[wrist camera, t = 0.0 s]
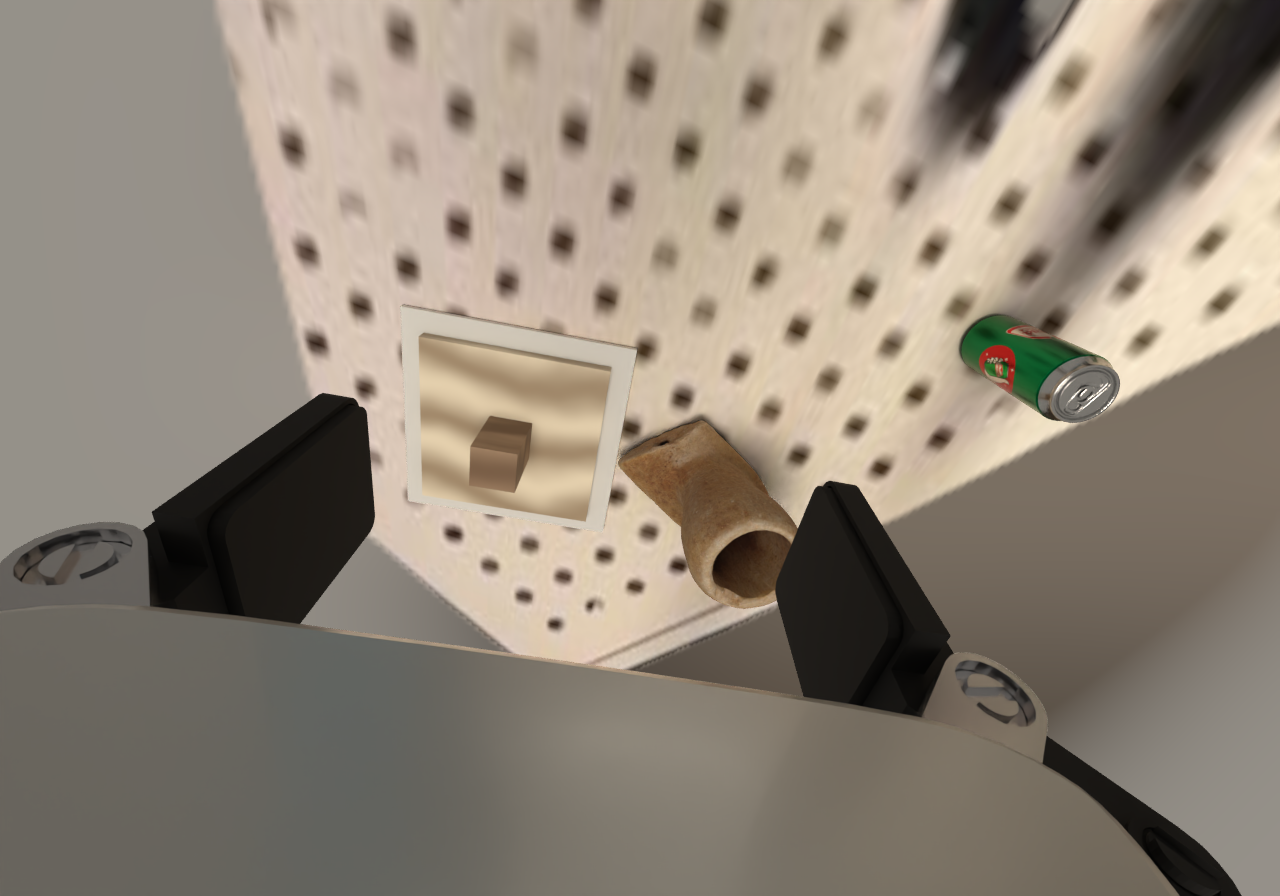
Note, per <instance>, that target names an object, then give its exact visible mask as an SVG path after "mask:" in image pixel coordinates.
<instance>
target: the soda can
mask: <svg viewBox="0 0 1280 896" xmlns="http://www.w3.org/2000/svg"><path fill="white" fill-rule="evenodd" d="M961 354H962V358H963V360H964V362H965V364H966V365H967V366H968V367H970V368H971V369H973V370H974V371H976V372H977V373H979V374H981V375H982V376H984V377H985V378H987V379H988V380H990V381H991V382H993V383H994V384H996V385H997V386H999V387H1000V388H1002V389H1003V390H1005V391H1006V392H1008V393H1009V394H1011V395H1012V396H1014V397H1015V398H1017V399H1018V400H1020V401H1021V402H1023V403H1025V404H1026V405H1028V406H1029V407H1031V408H1032V409H1034V410H1035V411H1037V412H1038V413H1040V414H1041V415H1043V416H1044V417H1046V418H1048V419H1051V420H1055V421H1064V422H1069V423H1077V422H1083V421H1086V420H1089V419H1091V418H1094V417H1096V416H1097V415H1099V414H1101V413H1102V412H1103V411H1105V410H1106V409H1107V408H1108V407H1109V406H1110V405H1111V404H1112V402H1113V401H1114V399H1115V398H1116V396H1117V394H1118V391H1119V387H1120V380H1119V376H1118V374H1117V373H1116V372H1115V371H1114V370H1113V367H1112V366H1111V364H1110V363H1109V362H1108V360H1106V359H1105V358H1103V357H1101V356H1099V355H1097V354H1094V353H1092V352H1090V351H1087V350H1085V349H1083V348H1081V347H1078V346H1076V345H1074V344H1072V343H1069V342H1067V341H1065V340H1063V339H1060V338H1058V337H1056V336H1053V335H1051V334H1049V333H1047V332H1044V331H1042V330H1040V329H1038V328H1035V327H1033V326H1031V325H1028V324H1026V323H1024V322H1022V321H1019V320H1017V319H1015V318H1013V317H1010V316H1006V315H996V316H992V317H988V318H986V319H984V320H982V321H980V322H979V323H978V324H976V325H975V326H974V327H973V328H972V329H971V330H970V331H969V332H968V334H967V335H966V337H965V339H964V341H963V344H962V349H961Z"/></svg>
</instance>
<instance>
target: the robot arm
mask: <svg viewBox="0 0 1280 896" xmlns="http://www.w3.org/2000/svg"><path fill="white" fill-rule="evenodd" d="M152 514H153V517H154V520H155V522H153V523H152V524H151V525H149V526H148V527H147V528H145V529H144V530H140V529H138V528H137V527H135V526H133V525H128V524H124V523H120V522H98V523H91V524H82V525H77V526H73V527H69V528H65V529H61V530H57V531H54V532H52V533H49V534H46V535H44V536H41V537H38V538H36V539H34V540H32V541H30V542H28V543H27V544H24V545H23V546H21V547H19V548H17V549H15V550H14V551H13V552H12V553H11V554H9V555H8V556H7V557H6V558H5V559H3V560H2V561H1V563H0V896H1241V894H1240V893H1239V891H1238V889H1237V887H1236V885H1235V884H1234V882H1233V881H1232V879H1231V878H1230V877H1229V876H1228V874H1227V873H1226V872H1225V871H1224V870H1223V868H1222V867H1221V866H1220V864H1219V863H1218V862H1217V861H1216V860H1215V859H1214V858H1213V857H1212V856H1211V855H1210V853H1208V851H1207V850H1206V849H1205V848H1203V846H1201V845H1200V844H1199V843H1198V842H1197V841H1195V840H1194V839H1193V838H1191V837H1190V836H1189V835H1188V834H1186V833H1185V832H1184V831H1182V830H1181V829H1180V828H1178V827H1177V826H1176V825H1174V824H1173V823H1172V822H1170V821H1169V820H1167V819H1166V818H1164V817H1163V816H1161V815H1160V814H1159V813H1157V812H1156V811H1154V810H1153V809H1151V808H1150V807H1148V806H1147V805H1146V804H1144V803H1143V802H1141V801H1140V800H1138V799H1137V798H1135V797H1134V796H1133V795H1131V794H1130V793H1128V792H1127V791H1125V790H1124V789H1122V788H1121V787H1120V786H1118V785H1117V784H1115V783H1114V782H1112V781H1111V780H1110V779H1108V778H1107V777H1105V776H1104V775H1102V774H1101V773H1099V772H1098V771H1097V770H1095V769H1094V768H1092V767H1091V766H1089V765H1088V764H1086V763H1085V762H1083V761H1082V760H1081V759H1079V758H1078V757H1076V756H1075V755H1073V754H1072V753H1071V752H1069V751H1068V750H1066V749H1065V748H1063V747H1062V746H1060V745H1059V744H1057V743H1056V742H1055V741H1053V740H1052V739H1050V738H1049V737H1048V736H1047V729H1048V721H1047V714H1046V712H1045V710H1044V707H1043V705H1042V703H1041V702H1040V700H1039V699H1038V698H1037V696H1036V695H1035V694H1034V692H1032V690H1031V689H1030V688H1029V687H1028V686H1027V685H1026V684H1025V683H1024V682H1023V681H1022V680H1021V679H1020V678H1019V677H1018V676H1016V675H1015V674H1013V673H1012V672H1011V671H1009V670H1008V669H1006V668H1005V667H1004V666H1002V665H1000V664H998V663H996V662H994V661H992V660H990V659H988V658H986V657H983V656H980V655H977V654H974V653H964V652H959V653H956V654H954V653H953V652H952V650H951V648H950V647H949V645H948V644H947V640H948V639H949V637H950V634H949V632H948V631H947V629H946V628H945V626H944V625H943V623H942V621H941V620H940V618H939V616H938V615H937V613H936V612H935V610H934V608H933V607H932V605H931V604H930V602H929V601H928V599H927V597H926V596H925V594H924V592H923V591H922V589H921V587H920V586H919V584H918V583H917V581H916V579H915V578H914V576H913V575H912V573H911V571H910V570H909V568H908V567H907V565H906V564H905V562H904V560H903V559H902V557H901V555H900V554H899V552H898V551H897V549H896V547H895V546H894V544H893V543H892V541H891V539H890V538H889V536H888V535H887V533H886V531H885V530H884V528H883V526H882V525H881V523H880V522H879V520H878V518H877V517H876V515H875V514H874V512H873V510H872V509H871V507H870V505H869V504H868V502H867V501H866V499H865V497H864V496H863V494H862V493H861V491H860V489H859V488H858V487H857V486H856V485H851V484H845V483H839V482H833V481H828V482H826V483H825V484H824V486H818V487H816V488H815V490H814V492H813V494H812V496H811V499H810V501H809V504H808V506H807V508H806V511H805V513H804V516H803V518H802V520H801V523H800V525H799V528H798V530H797V532H796V535H795V537H794V539H793V542H792V544H791V547H790V549H789V551H788V554H787V556H786V559H785V561H784V563H783V566H782V568H781V571H780V573H779V575H778V578H777V581H776V587H775V594H776V599H777V602H778V606H779V609H780V613H781V617H782V620H783V624H784V627H785V631H786V634H787V638H788V642H789V645H790V649H791V653H792V656H793V660H794V663H795V667H796V671H797V674H798V678H799V681H800V685H801V689H802V692H803V696H804V697H801V696H795V695H789V694H783V693H776V692H770V691H762V690H756V689H750V688H743V687H736V686H729V685H723V684H715V683H710V682H703V681H696V680H690V679H683V678H676V677H669V676H663V675H656V674H650V673H643V672H636V671H629V670H622V669H615V668H609V667H602V666H595V665H588V664H581V663H574V662H567V661H560V660H553V659H546V658H539V657H532V656H526V655H519V654H512V653H505V652H498V651H490V650H483V649H477V648H469V647H462V646H455V645H448V644H441V643H434V642H427V641H419V640H412V639H405V638H397V637H390V636H383V635H376V634H369V633H361V632H354V631H347V630H340V629H333V628H325V627H318V626H311V625H303V624H300V623H301V622H302V620H303V619H304V618H305V617H306V615H307V614H308V613H309V611H310V610H311V609H312V607H313V606H314V605H315V603H316V602H317V601H318V600H319V598H320V597H321V595H322V594H323V593H324V591H325V590H326V589H327V588H328V586H329V585H330V584H331V582H332V581H333V580H334V579H335V577H336V576H337V575H338V573H339V572H340V571H341V569H342V568H343V567H344V565H345V564H346V563H347V562H348V560H349V559H350V558H351V556H352V555H353V554H354V552H355V551H356V550H357V548H358V547H359V546H360V544H361V543H362V542H363V541H364V539H365V538H366V537H367V535H368V534H369V533H370V531H371V529H372V527H373V524H374V519H375V510H374V497H373V485H372V472H371V460H370V447H369V435H368V422H367V413H366V410H365V408H363V407H359V405H358V403H357V401H356V400H355V399H354V398H349V397H343V396H338V395H332V394H326V393H322V394H320V395H318V396H317V397H315V398H314V399H312V400H311V401H309V402H308V403H307V404H305V405H304V406H302V407H301V408H299V409H298V410H297V411H295V412H294V413H292V414H291V415H289V416H288V417H287V418H285V419H284V420H282V421H281V422H279V423H278V424H277V425H275V426H274V427H272V428H271V429H269V430H268V431H267V432H265V433H264V434H262V435H261V436H259V437H258V438H257V439H255V440H254V441H252V442H251V443H250V444H248V445H247V446H245V447H244V448H242V449H241V450H239V451H238V452H237V453H235V454H234V455H232V456H231V457H229V458H228V459H227V460H225V461H224V462H222V463H221V464H219V465H218V466H217V467H215V468H214V469H212V470H211V471H209V472H208V473H207V474H205V475H204V476H203V477H201V478H199V479H198V480H197V481H195V482H194V483H192V484H191V485H190V486H188V487H187V488H185V489H184V490H182V491H181V492H179V493H178V494H177V495H175V496H174V497H172V498H171V499H169V500H168V501H167V502H165V503H164V504H162V505H161V506H159V507H158V508H157V509H155V510H154V511H152Z"/></svg>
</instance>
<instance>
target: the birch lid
mask: <svg viewBox="0 0 1280 896" xmlns="http://www.w3.org/2000/svg"><path fill="white" fill-rule="evenodd" d="M418 338H419V379H420V421H421V463H422V495H424V496H430V497H436V498H443V499H449V500H455V501H461V502H467V503H473V504H479V505H486V506H492V507H498V508H504V509H510V510H516V511H522V512H529V513H535V514H541V515H547V516H553V517H559V518H566V519H572V520H578V521H584V522H586V518H587V512H588V506H589V500H590V494H591V488H592V482H593V476H594V470H595V464H596V458H597V452H598V446H599V440H600V434H601V428H602V422H603V416H604V410H605V404H606V398H607V392H608V386H609V380H610V374H611V368H612V367H609V366H603V365H598V364H592V363H587V362H581V361H576V360H570V359H565V358H560V357H554V356H549V355H543V354H538V353H532V352H527V351H521V350H516V349H510V348H505V347H500V346H494V345H489V344H483V343H478V342H472V341H467V340H461V339H456V338H451V337H445V336H440V335H434V334H429V333H423V334H421V335H420V336H419V337H418Z"/></svg>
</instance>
